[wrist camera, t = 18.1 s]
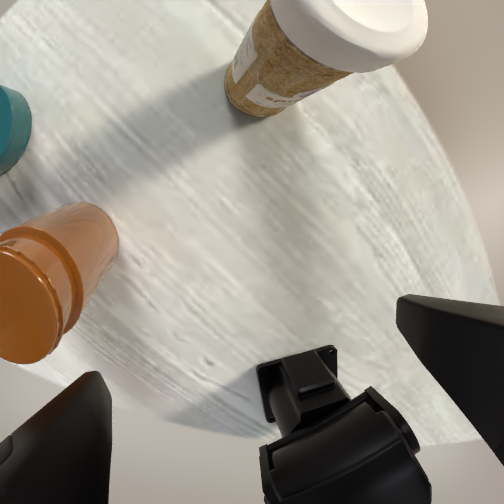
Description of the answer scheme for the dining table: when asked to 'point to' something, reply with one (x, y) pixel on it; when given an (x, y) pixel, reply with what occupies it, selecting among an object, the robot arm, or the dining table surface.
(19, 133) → the lid
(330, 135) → the dining table surface
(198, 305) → the dining table surface
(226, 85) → the sprinkles bottle
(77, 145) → the dining table surface
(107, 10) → the dining table surface
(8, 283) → the jar
